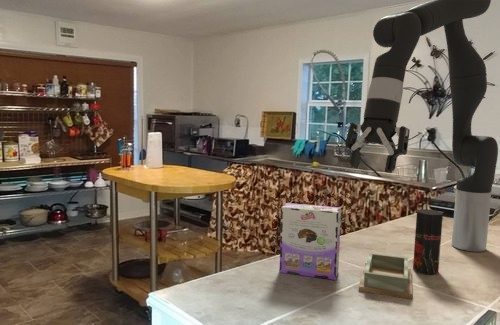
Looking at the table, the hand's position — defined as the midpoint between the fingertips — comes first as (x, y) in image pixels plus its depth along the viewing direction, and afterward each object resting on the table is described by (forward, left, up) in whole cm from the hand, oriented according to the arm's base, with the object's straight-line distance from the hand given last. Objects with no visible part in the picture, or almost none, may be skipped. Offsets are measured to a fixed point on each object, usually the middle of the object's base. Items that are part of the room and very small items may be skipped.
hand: (370, 170), depth 98 cm
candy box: (+1, -13, -26) cm, 29 cm away
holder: (-1, +5, -26) cm, 27 cm away
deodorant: (-12, +14, -26) cm, 32 cm away
